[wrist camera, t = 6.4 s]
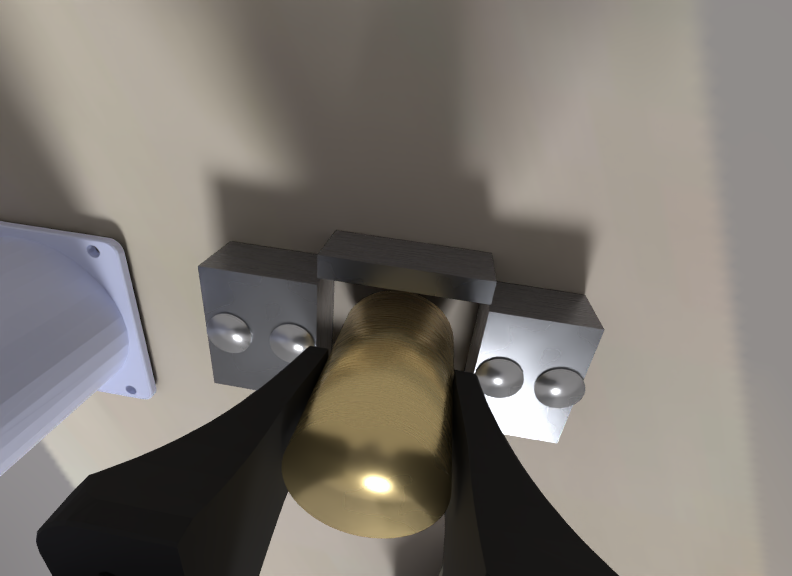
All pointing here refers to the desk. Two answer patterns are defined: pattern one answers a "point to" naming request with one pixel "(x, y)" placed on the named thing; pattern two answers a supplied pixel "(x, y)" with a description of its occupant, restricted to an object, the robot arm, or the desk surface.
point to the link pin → (379, 422)
